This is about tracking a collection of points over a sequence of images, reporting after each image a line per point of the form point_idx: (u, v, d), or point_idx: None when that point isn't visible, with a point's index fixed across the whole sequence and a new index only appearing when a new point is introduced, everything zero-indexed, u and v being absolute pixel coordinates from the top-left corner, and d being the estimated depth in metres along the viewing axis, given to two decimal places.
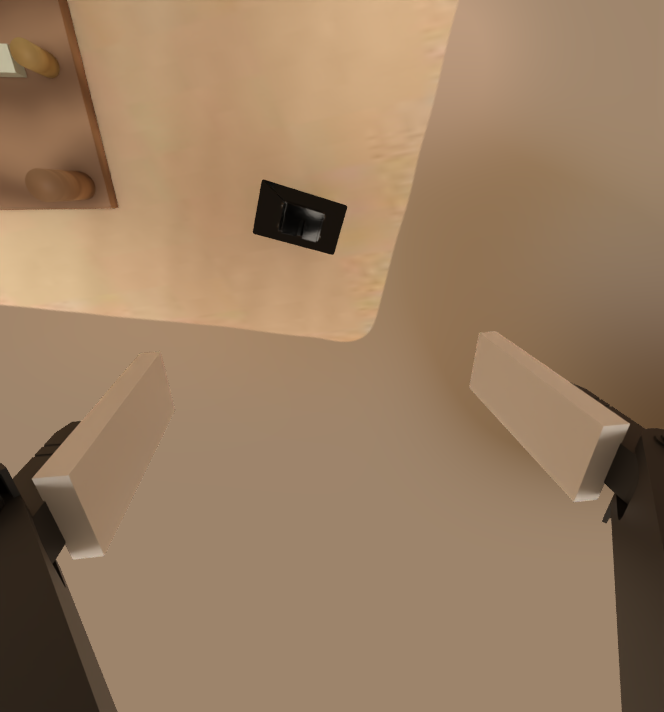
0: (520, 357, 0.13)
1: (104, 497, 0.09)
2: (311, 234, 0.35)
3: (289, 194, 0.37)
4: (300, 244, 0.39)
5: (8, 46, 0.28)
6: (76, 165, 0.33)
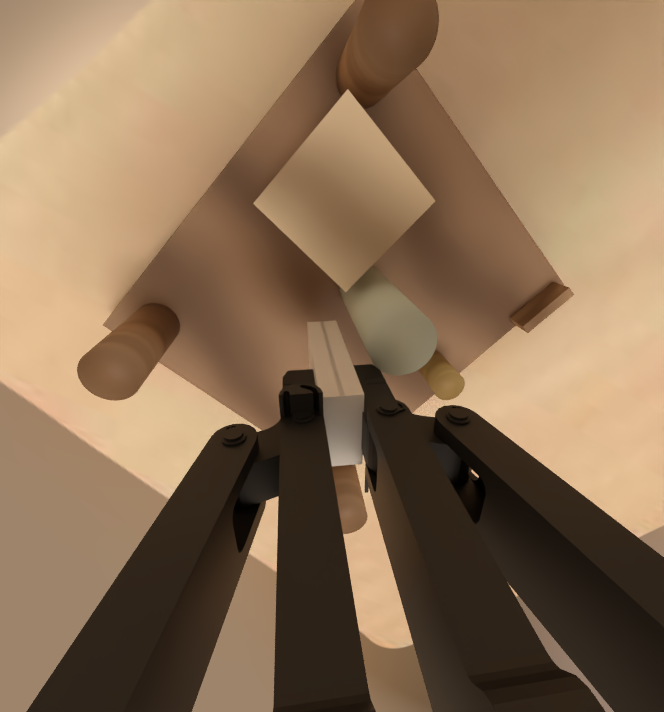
0: (332, 342, 0.14)
1: None
2: None
3: None
4: None
5: None
6: None
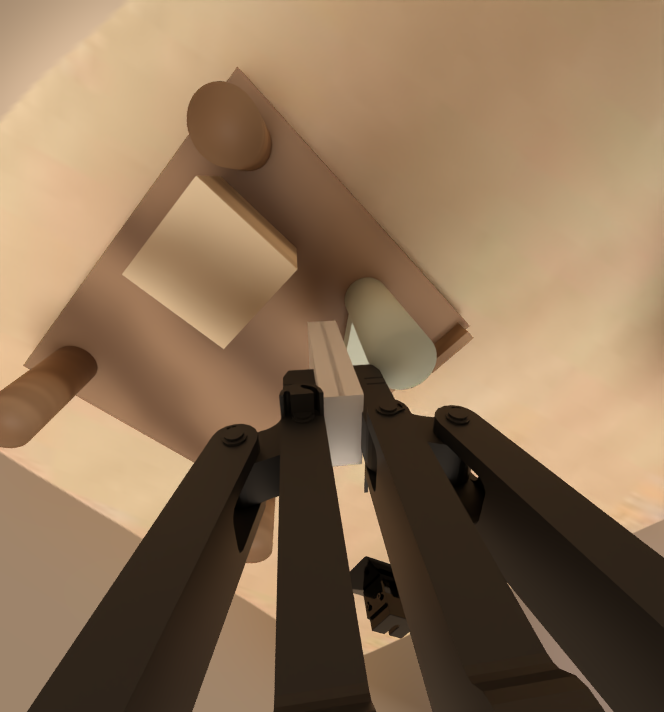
0: (331, 342, 0.14)
1: None
2: (400, 633, 0.34)
3: (385, 569, 0.35)
4: None
5: None
6: None
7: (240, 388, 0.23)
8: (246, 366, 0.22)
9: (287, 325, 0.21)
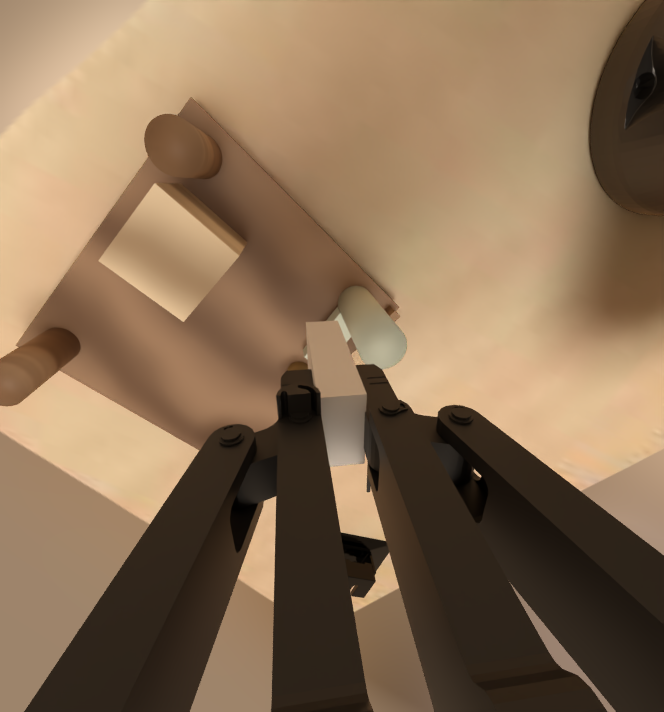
0: (334, 342, 0.14)
1: None
2: (361, 593, 0.38)
3: (343, 538, 0.39)
4: None
5: None
6: None
7: (206, 364, 0.27)
8: (210, 344, 0.26)
9: (243, 308, 0.25)
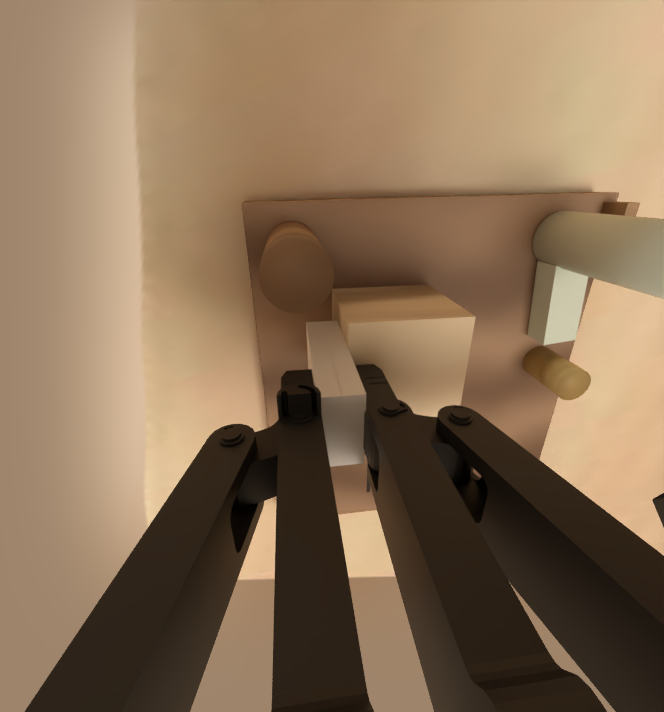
0: (334, 342, 0.14)
1: None
2: None
3: None
4: None
5: (571, 339, 0.19)
6: None
7: None
8: None
9: None
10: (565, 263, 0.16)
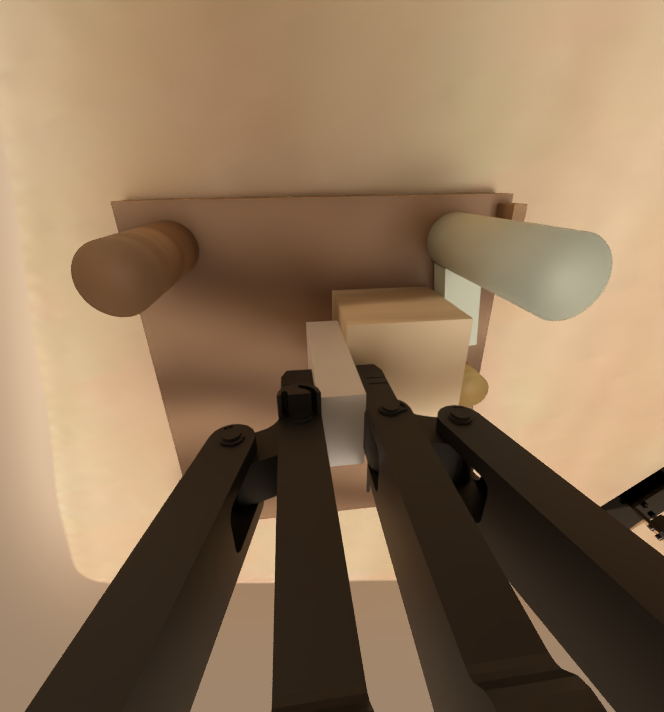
0: (333, 342, 0.14)
1: None
2: None
3: (629, 498, 0.30)
4: None
5: (472, 343, 0.19)
6: None
7: None
8: None
9: None
10: (449, 266, 0.16)
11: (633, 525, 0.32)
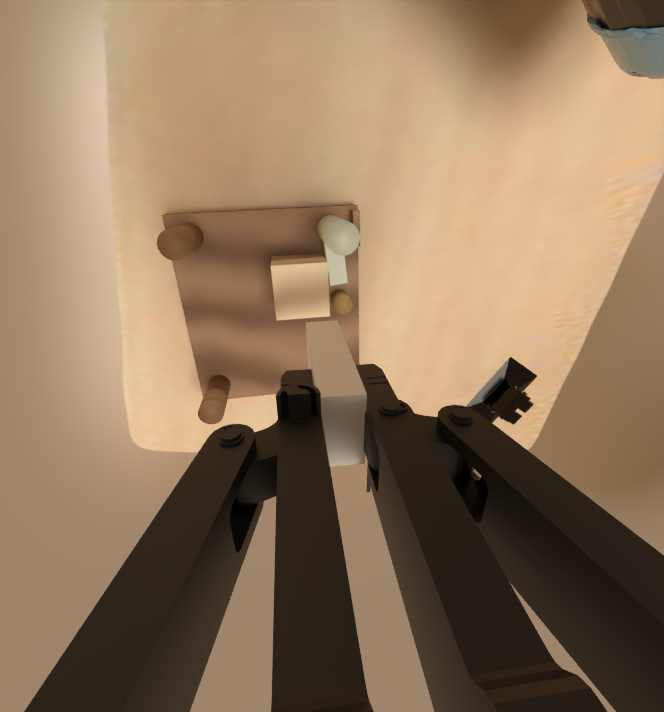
0: (334, 342, 0.14)
1: None
2: (527, 405, 0.45)
3: (480, 396, 0.48)
4: None
5: (346, 282, 0.36)
6: None
7: (289, 337, 0.39)
8: (280, 324, 0.38)
9: None
10: (322, 240, 0.33)
11: (493, 415, 0.49)
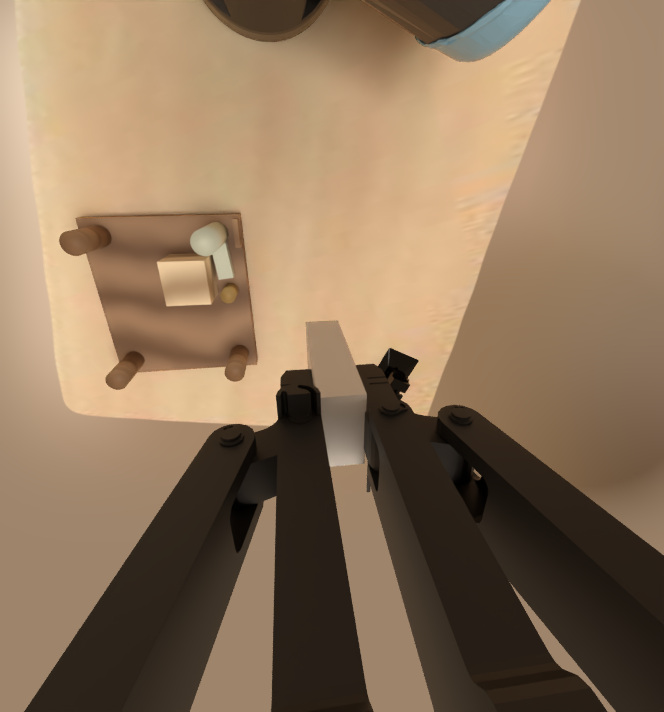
0: (334, 342, 0.14)
1: None
2: (404, 387, 0.53)
3: None
4: None
5: (232, 277, 0.44)
6: (238, 342, 0.49)
7: (191, 321, 0.47)
8: (183, 310, 0.46)
9: None
10: None
11: None
